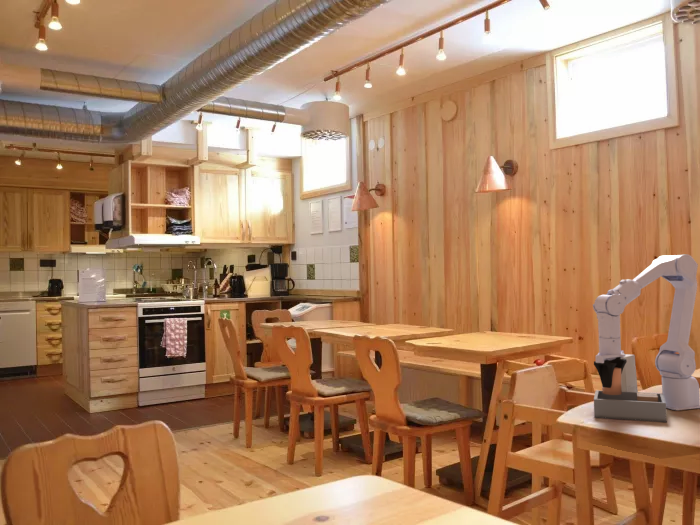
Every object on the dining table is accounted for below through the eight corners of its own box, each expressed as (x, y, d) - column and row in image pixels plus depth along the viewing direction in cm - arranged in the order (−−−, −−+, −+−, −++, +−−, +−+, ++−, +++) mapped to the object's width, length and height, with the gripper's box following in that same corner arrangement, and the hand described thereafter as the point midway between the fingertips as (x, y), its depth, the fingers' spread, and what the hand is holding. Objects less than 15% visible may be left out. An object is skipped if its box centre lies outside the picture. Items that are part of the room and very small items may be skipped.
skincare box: (639, 405, 184) (637, 354, 184) (627, 407, 181) (625, 356, 181) (613, 400, 191) (611, 352, 191) (601, 403, 188) (599, 354, 188)
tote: (663, 411, 175) (662, 393, 175) (666, 422, 163) (665, 403, 163) (596, 407, 182) (595, 390, 182) (594, 417, 170) (593, 399, 170)
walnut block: (637, 410, 174) (636, 392, 174) (657, 411, 172) (656, 393, 172) (638, 414, 169) (637, 396, 169) (658, 415, 167) (657, 397, 167)
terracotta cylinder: (600, 391, 177) (600, 366, 177) (619, 391, 176) (618, 366, 176) (604, 394, 172) (604, 369, 172) (623, 395, 171) (623, 369, 171)
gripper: (613, 340, 167) (614, 391, 166) (634, 335, 177) (635, 383, 177) (587, 339, 172) (589, 388, 171) (609, 334, 182) (610, 381, 182)
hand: (611, 385), depth 174 cm, fingers closed on terracotta cylinder, 5 cm apart
